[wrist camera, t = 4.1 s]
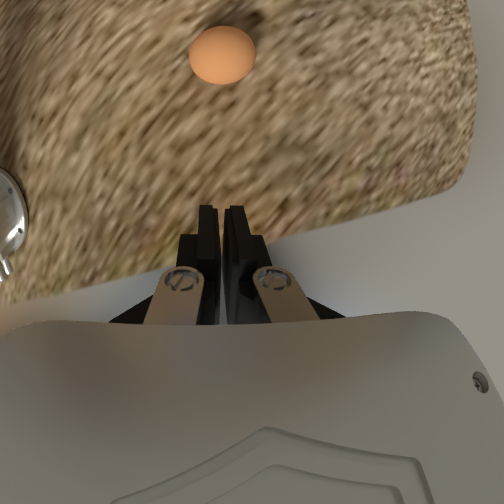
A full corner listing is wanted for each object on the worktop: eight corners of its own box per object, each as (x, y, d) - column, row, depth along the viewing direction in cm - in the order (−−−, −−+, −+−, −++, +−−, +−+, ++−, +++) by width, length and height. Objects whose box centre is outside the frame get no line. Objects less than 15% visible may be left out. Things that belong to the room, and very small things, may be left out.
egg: (247, 86, 23) (257, 86, 18) (188, 84, 22) (183, 82, 17) (253, 35, 20) (264, 22, 15) (194, 32, 19) (190, 18, 14)
